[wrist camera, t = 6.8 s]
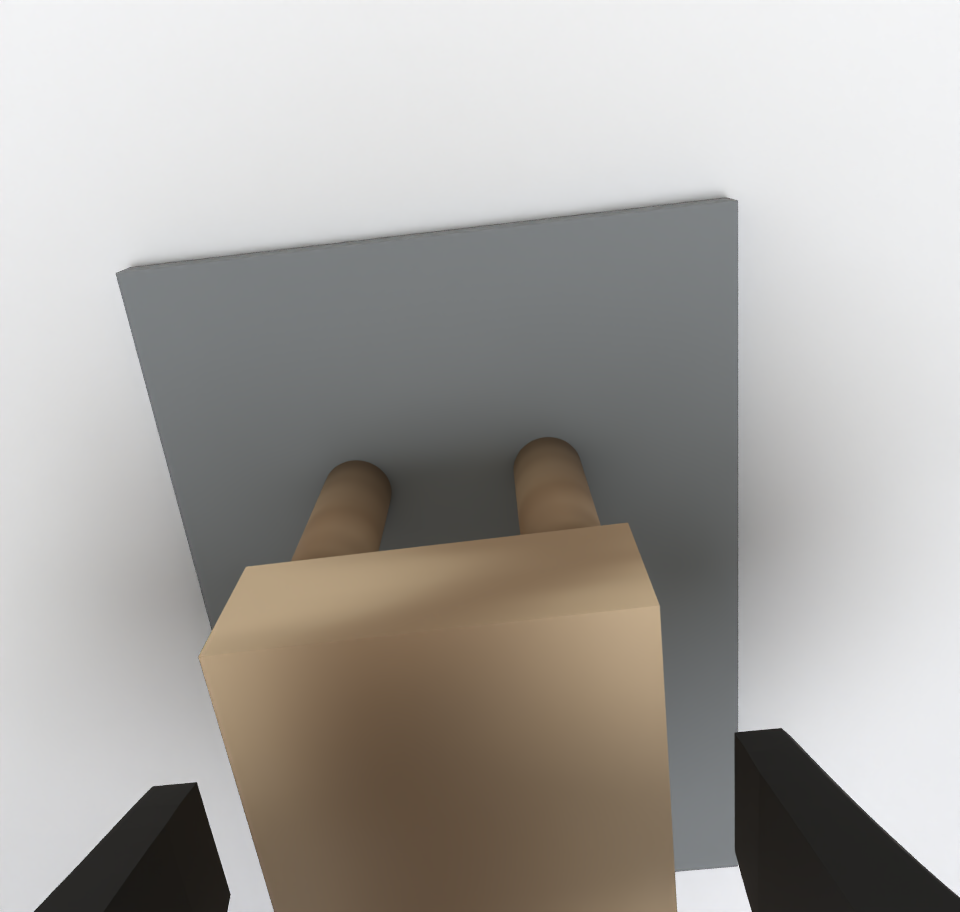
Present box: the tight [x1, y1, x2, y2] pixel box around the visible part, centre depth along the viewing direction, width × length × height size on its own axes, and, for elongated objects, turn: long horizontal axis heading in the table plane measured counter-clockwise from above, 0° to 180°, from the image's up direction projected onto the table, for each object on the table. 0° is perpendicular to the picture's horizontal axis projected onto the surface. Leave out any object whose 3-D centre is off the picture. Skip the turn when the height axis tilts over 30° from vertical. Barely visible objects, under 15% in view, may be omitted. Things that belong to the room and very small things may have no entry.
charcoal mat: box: [116, 198, 738, 872], centre depth 16 cm, size 14×10×1 cm
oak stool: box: [198, 437, 677, 912], centre depth 13 cm, size 5×7×6 cm
